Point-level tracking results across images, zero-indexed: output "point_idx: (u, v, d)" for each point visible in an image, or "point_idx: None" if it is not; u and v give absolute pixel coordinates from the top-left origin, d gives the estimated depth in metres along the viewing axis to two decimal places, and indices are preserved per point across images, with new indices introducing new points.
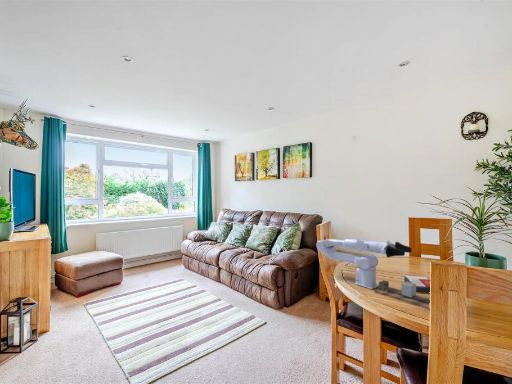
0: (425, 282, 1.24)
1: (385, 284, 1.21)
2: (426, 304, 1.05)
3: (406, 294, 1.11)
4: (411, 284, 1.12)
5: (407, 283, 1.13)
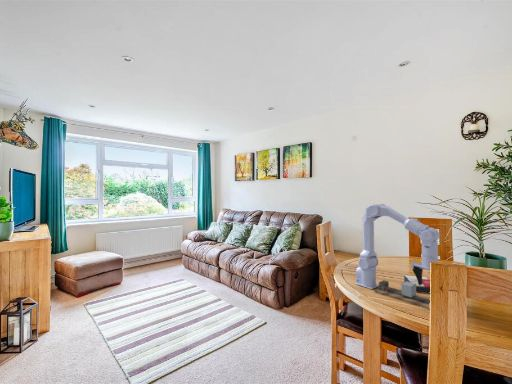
0: (424, 282, 1.25)
1: (385, 284, 1.21)
2: (426, 304, 1.05)
3: (406, 294, 1.11)
4: (411, 284, 1.12)
5: (407, 283, 1.13)
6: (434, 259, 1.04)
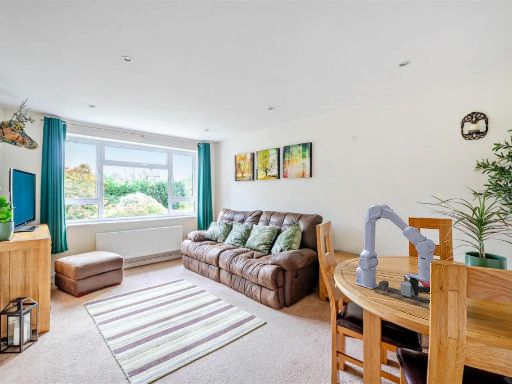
0: (424, 282, 1.25)
1: (385, 284, 1.21)
2: (426, 304, 1.05)
3: (405, 294, 1.12)
4: (410, 284, 1.12)
5: (406, 283, 1.14)
6: None
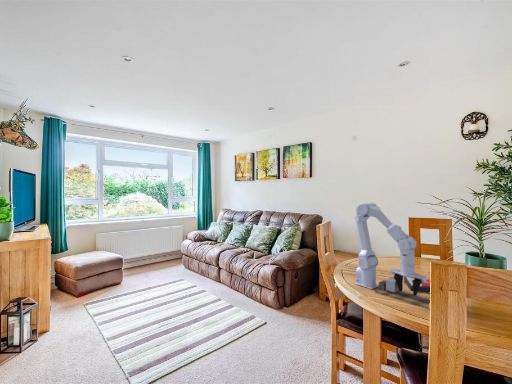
0: (423, 282, 1.25)
1: (385, 284, 1.21)
2: (426, 304, 1.05)
3: (390, 289, 1.17)
4: (395, 280, 1.18)
5: (391, 279, 1.19)
6: (411, 266, 1.11)
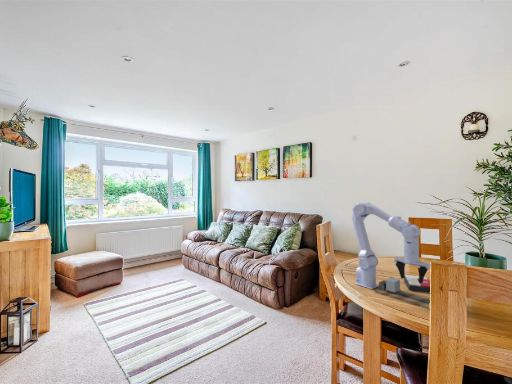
0: None
1: (385, 284, 1.21)
2: (426, 304, 1.05)
3: (390, 289, 1.17)
4: (395, 280, 1.18)
5: (391, 279, 1.19)
6: (415, 254, 1.10)
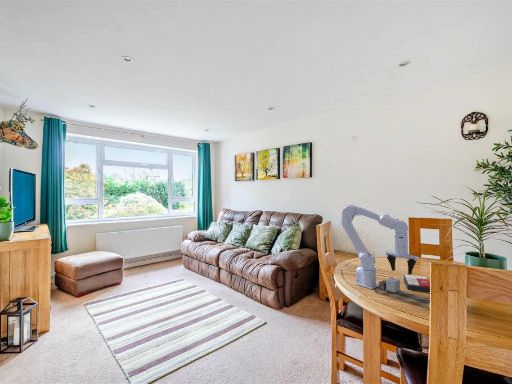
0: (421, 281, 1.25)
1: (385, 284, 1.21)
2: (426, 304, 1.05)
3: (390, 289, 1.17)
4: (395, 280, 1.18)
5: (391, 279, 1.19)
6: (404, 248, 1.19)
